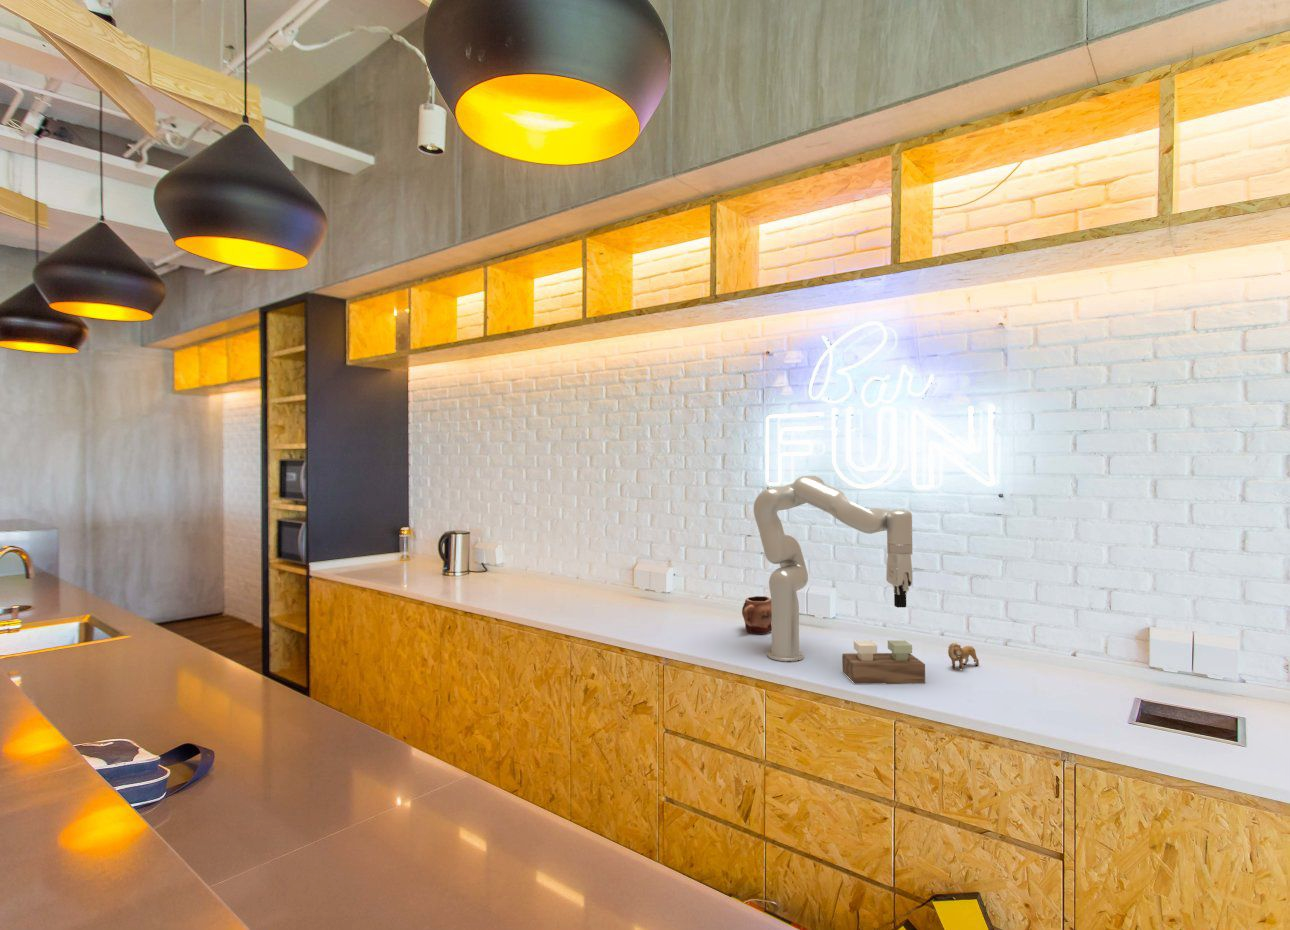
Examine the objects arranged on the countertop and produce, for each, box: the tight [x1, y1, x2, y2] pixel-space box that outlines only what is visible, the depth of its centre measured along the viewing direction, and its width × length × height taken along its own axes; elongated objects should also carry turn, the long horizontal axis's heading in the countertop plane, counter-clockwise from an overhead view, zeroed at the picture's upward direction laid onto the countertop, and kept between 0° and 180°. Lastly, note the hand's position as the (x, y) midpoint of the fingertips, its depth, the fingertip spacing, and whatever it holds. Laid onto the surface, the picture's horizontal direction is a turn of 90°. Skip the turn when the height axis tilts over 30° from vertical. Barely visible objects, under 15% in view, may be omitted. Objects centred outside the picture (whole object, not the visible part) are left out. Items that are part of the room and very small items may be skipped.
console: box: [841, 652, 926, 685], centre depth 211 cm, size 12×22×6 cm, turn 90°
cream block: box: [853, 640, 878, 661], centre depth 211 cm, size 6×6×7 cm
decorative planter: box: [741, 595, 772, 635], centre depth 267 cm, size 20×12×14 cm, turn 145°
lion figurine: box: [947, 642, 980, 669], centre depth 221 cm, size 15×5×9 cm, turn 126°
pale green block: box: [887, 640, 913, 661], centre depth 211 cm, size 6×6×7 cm
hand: (900, 606), depth 211 cm, fingers closed
